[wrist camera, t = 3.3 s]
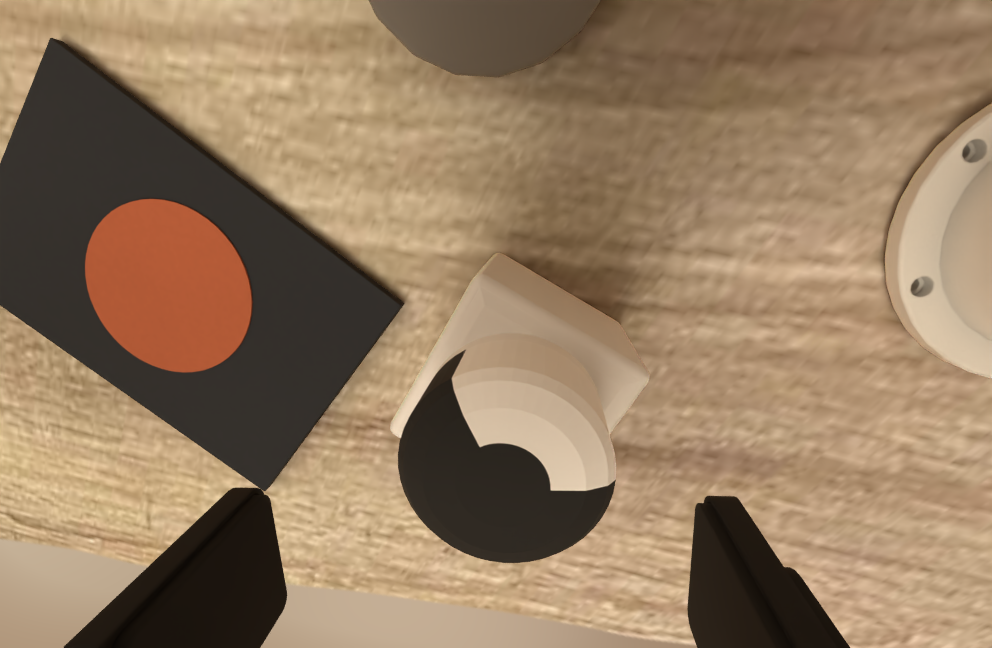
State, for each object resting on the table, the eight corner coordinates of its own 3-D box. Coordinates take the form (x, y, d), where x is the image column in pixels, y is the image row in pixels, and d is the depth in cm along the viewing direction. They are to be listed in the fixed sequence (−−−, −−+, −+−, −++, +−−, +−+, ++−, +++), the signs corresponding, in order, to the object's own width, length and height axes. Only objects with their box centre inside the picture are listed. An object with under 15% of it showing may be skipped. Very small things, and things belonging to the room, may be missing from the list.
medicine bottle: (546, 435, 25) (547, 638, 14) (428, 367, 25) (327, 517, 13) (623, 323, 23) (701, 450, 12) (496, 248, 23) (447, 302, 11)
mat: (404, 303, 24) (400, 306, 23) (270, 485, 28) (263, 493, 27) (62, 41, 22) (47, 36, 22) (-32, 272, 26) (-47, 274, 25)
